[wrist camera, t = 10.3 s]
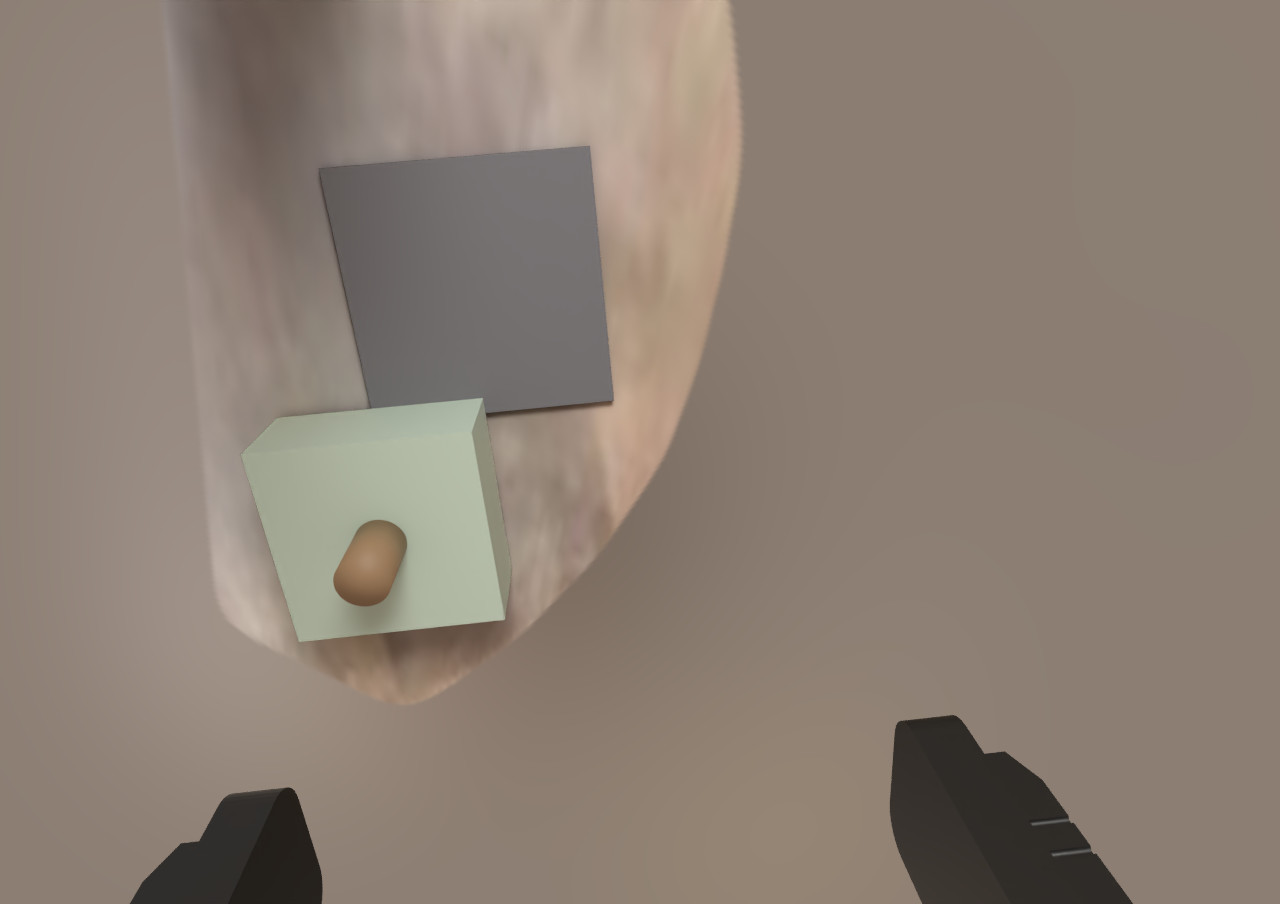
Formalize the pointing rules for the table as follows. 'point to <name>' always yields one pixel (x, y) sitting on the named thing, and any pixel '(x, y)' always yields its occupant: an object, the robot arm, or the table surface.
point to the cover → (383, 518)
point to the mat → (474, 278)
